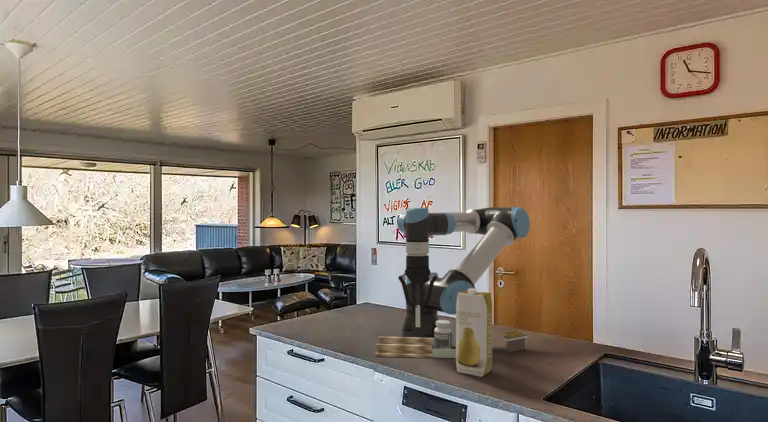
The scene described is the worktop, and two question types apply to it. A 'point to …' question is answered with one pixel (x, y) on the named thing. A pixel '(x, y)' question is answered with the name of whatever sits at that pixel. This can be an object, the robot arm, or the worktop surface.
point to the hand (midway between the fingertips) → (417, 326)
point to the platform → (515, 340)
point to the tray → (445, 351)
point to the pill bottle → (442, 335)
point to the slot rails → (404, 347)
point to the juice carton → (474, 332)
